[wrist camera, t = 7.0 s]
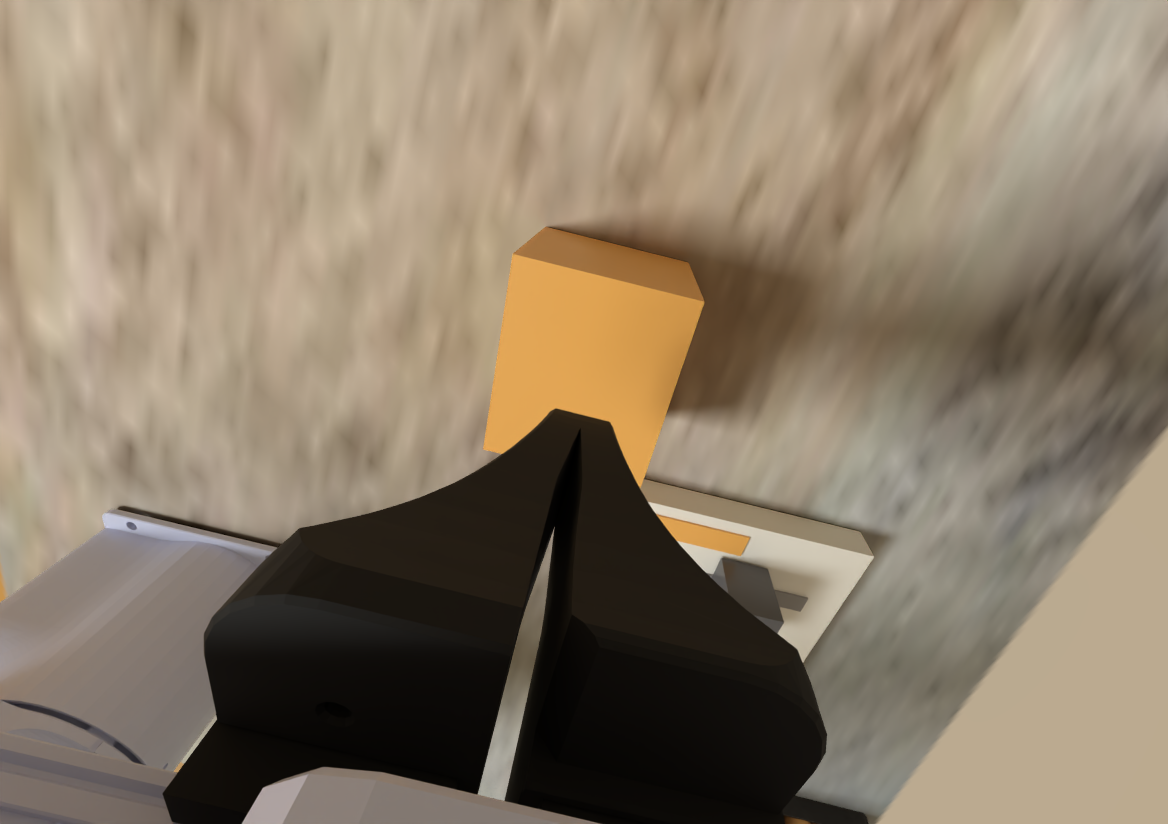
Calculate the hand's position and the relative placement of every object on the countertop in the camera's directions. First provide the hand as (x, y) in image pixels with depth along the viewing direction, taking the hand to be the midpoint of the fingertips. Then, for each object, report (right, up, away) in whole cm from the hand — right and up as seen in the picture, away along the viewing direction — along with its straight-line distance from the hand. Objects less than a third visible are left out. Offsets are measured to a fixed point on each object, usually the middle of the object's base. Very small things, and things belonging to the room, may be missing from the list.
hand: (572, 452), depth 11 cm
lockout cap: (+1, +4, +7) cm, 8 cm away
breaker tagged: (+7, -7, +10) cm, 14 cm away
